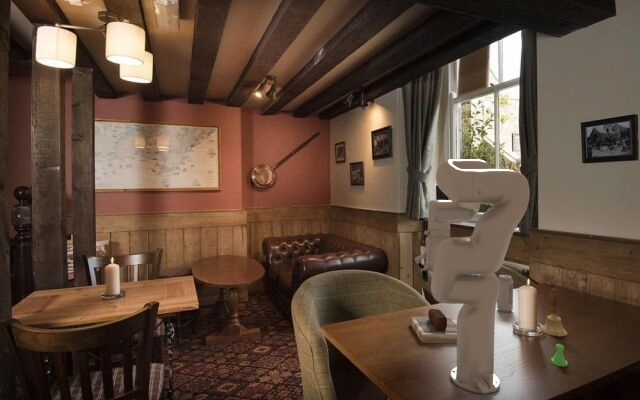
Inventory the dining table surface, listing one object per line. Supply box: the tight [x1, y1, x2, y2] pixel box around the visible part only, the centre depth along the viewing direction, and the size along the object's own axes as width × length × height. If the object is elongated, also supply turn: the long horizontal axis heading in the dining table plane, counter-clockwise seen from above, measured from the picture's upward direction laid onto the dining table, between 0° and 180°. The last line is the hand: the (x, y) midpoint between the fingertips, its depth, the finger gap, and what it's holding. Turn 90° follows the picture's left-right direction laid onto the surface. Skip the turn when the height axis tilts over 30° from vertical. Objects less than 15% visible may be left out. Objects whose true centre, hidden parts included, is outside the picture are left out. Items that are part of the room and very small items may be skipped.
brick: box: [427, 308, 447, 330], centre depth 132 cm, size 11×4×5 cm, turn 178°
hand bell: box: [540, 288, 568, 337], centre depth 132 cm, size 8×8×16 cm
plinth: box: [410, 316, 457, 344], centre depth 132 cm, size 16×16×3 cm
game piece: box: [550, 343, 569, 368], centre depth 110 cm, size 4×4×6 cm
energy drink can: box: [496, 274, 514, 313], centre depth 154 cm, size 6×6×15 cm
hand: (438, 280), depth 131 cm, fingers open, 9 cm apart
